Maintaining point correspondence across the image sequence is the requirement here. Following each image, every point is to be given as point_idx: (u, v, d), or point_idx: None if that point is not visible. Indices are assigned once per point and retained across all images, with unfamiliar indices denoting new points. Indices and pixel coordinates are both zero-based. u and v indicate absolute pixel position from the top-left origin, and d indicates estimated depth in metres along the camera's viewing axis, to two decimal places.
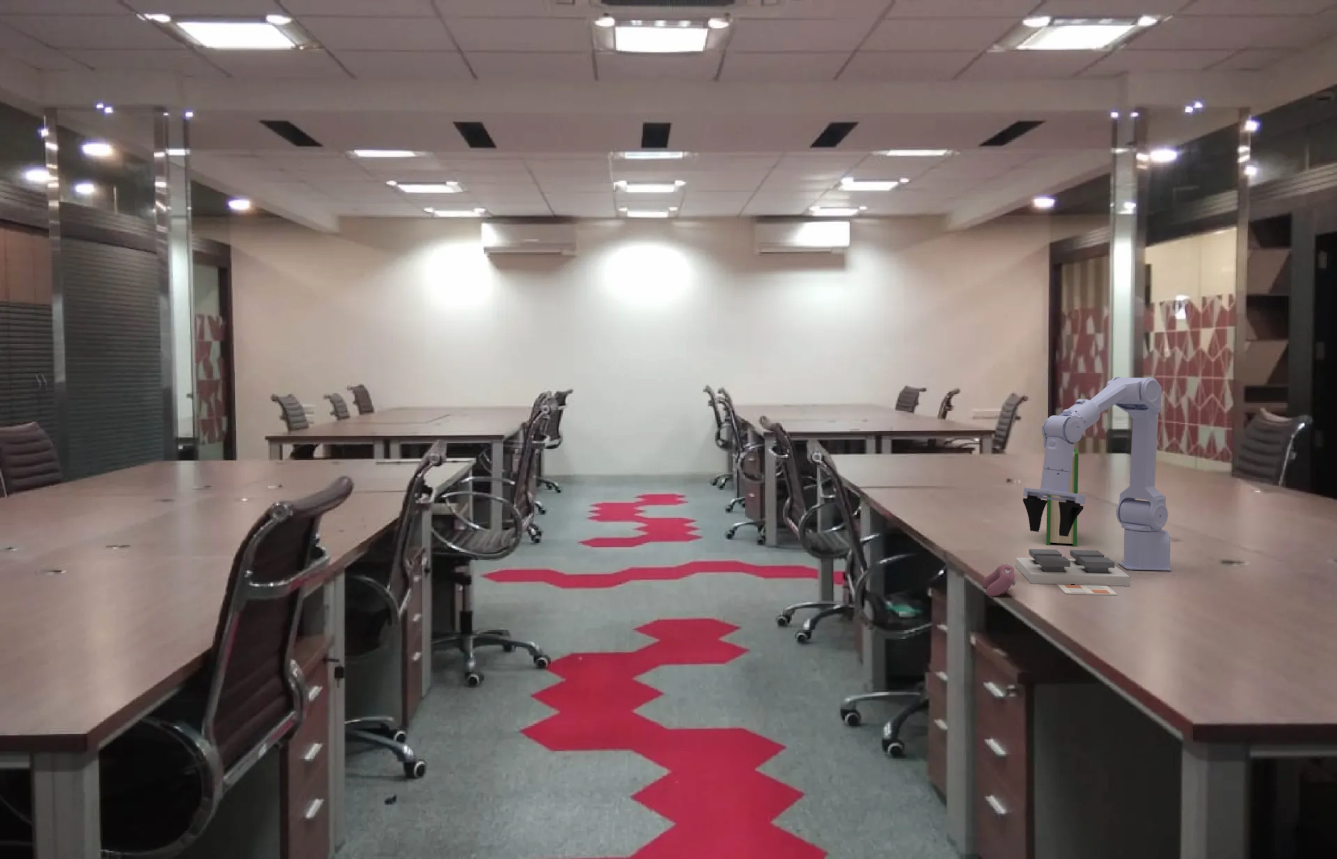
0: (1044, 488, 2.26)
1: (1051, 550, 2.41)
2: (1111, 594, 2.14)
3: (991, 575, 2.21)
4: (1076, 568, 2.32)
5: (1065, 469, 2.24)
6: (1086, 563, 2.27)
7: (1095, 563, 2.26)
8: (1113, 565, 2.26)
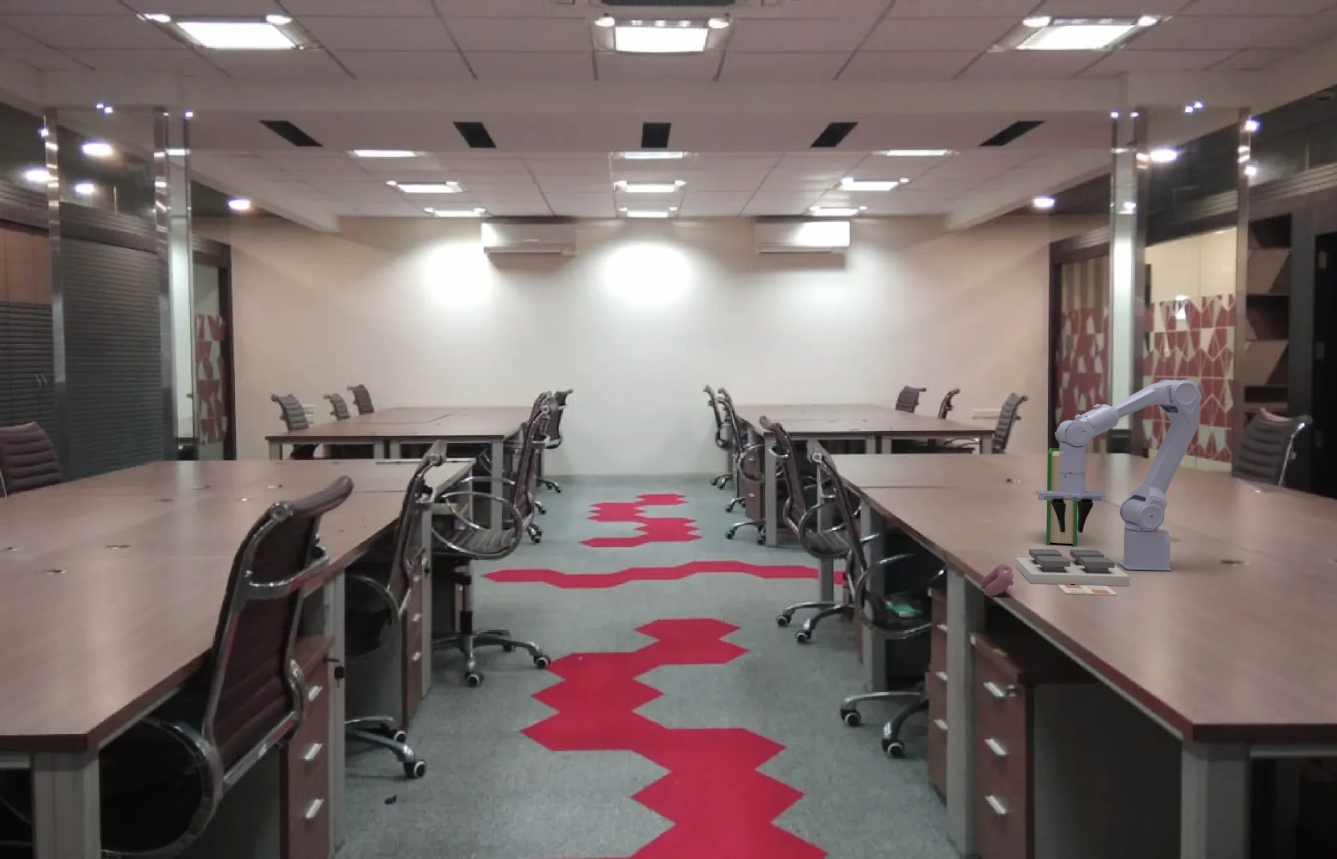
0: (1073, 492, 2.39)
1: (1051, 550, 2.41)
2: (1111, 594, 2.14)
3: (989, 575, 2.21)
4: (1076, 568, 2.32)
5: (1073, 472, 2.39)
6: (1086, 563, 2.27)
7: (1095, 563, 2.26)
8: (1113, 565, 2.26)
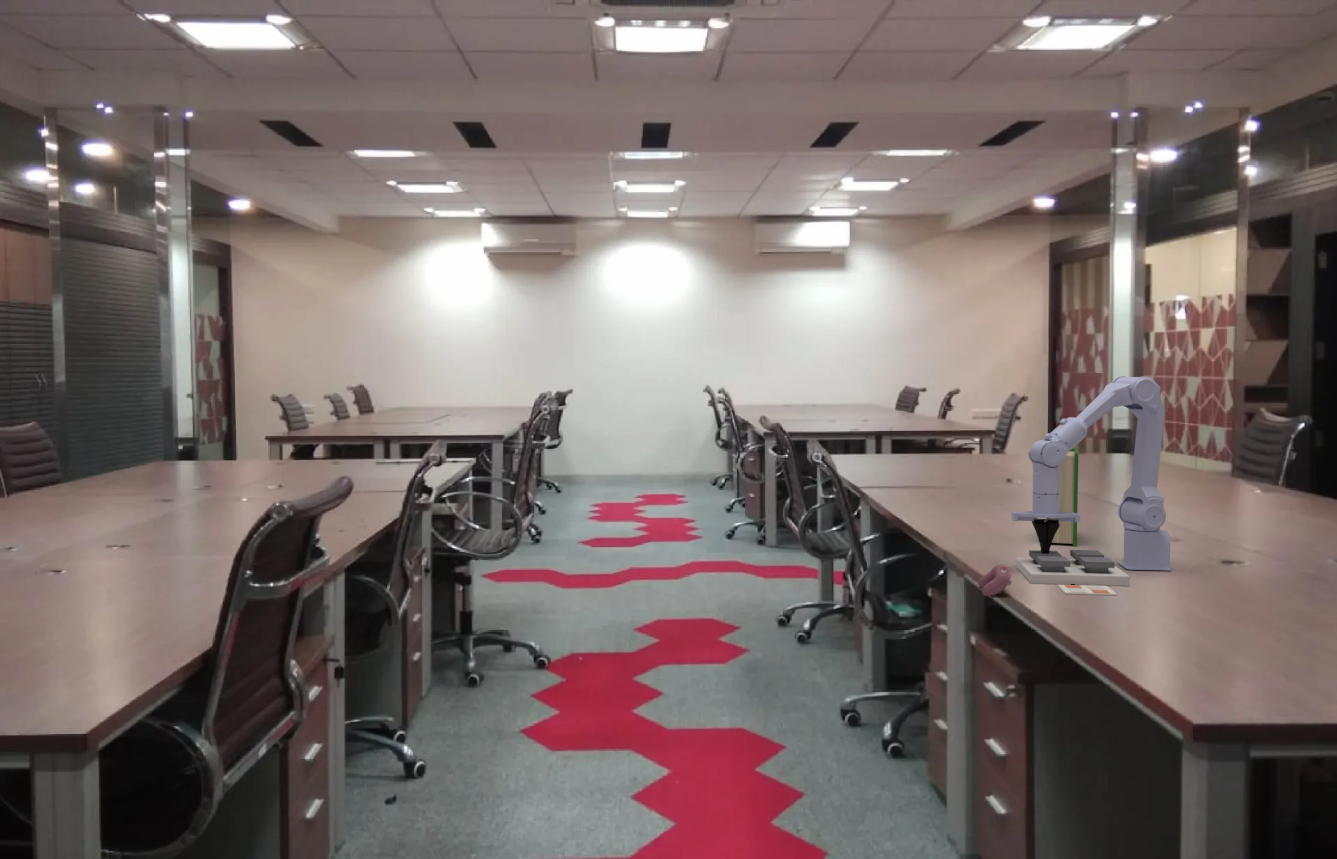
0: (1046, 513, 2.36)
1: (1051, 551, 2.41)
2: (1111, 594, 2.14)
3: (987, 575, 2.22)
4: (1076, 568, 2.32)
5: (1049, 492, 2.36)
6: (1086, 563, 2.27)
7: (1095, 563, 2.26)
8: (1113, 565, 2.26)
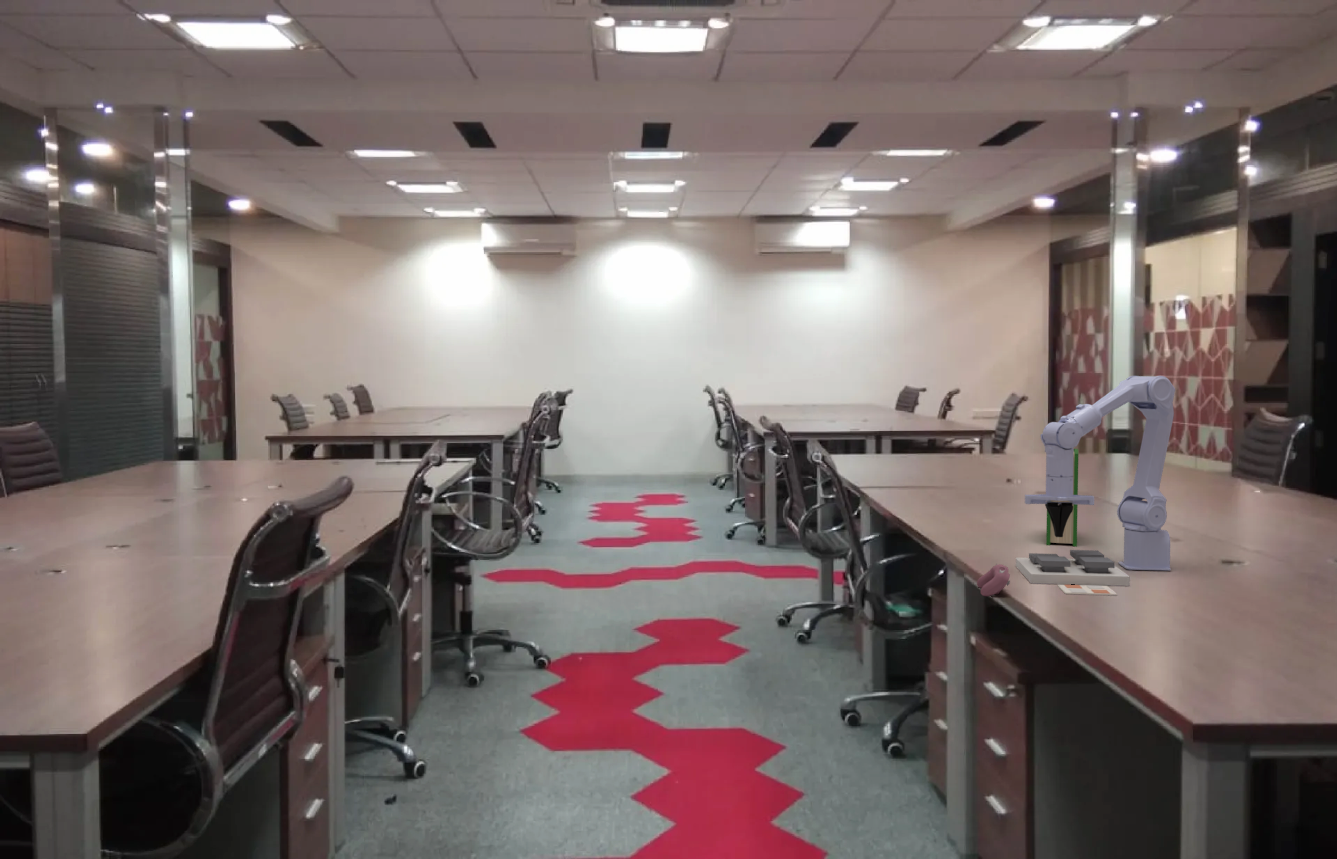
0: (1060, 495, 2.33)
1: (1051, 554, 2.41)
2: (1111, 594, 2.14)
3: (985, 575, 2.22)
4: (1076, 568, 2.32)
5: (1064, 475, 2.33)
6: (1086, 563, 2.27)
7: (1095, 563, 2.26)
8: (1113, 565, 2.26)
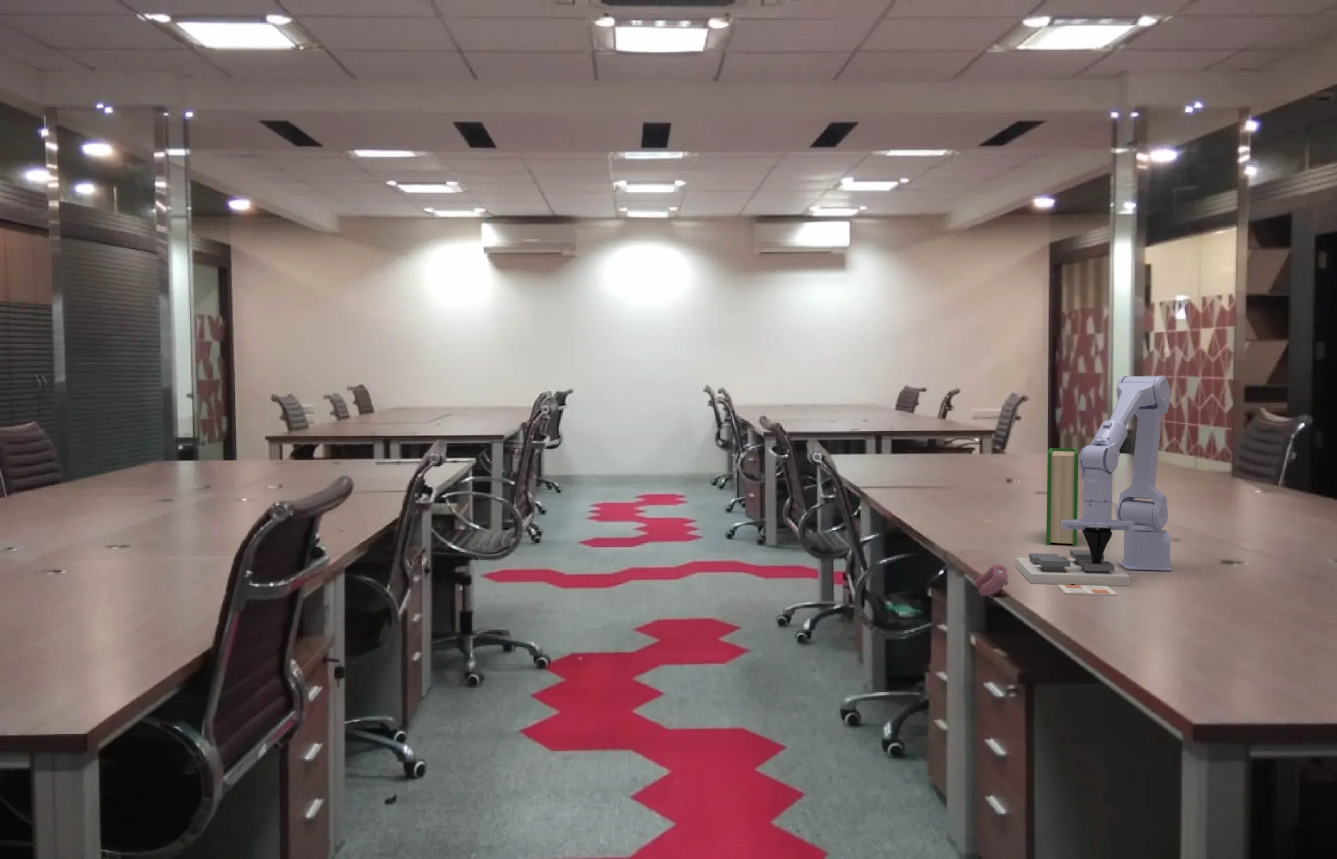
0: (1098, 521, 2.26)
1: (1051, 554, 2.41)
2: (1111, 594, 2.14)
3: (984, 575, 2.22)
4: (1076, 568, 2.32)
5: (1108, 500, 2.26)
6: (1086, 566, 2.27)
7: (1095, 566, 2.26)
8: (1113, 568, 2.26)
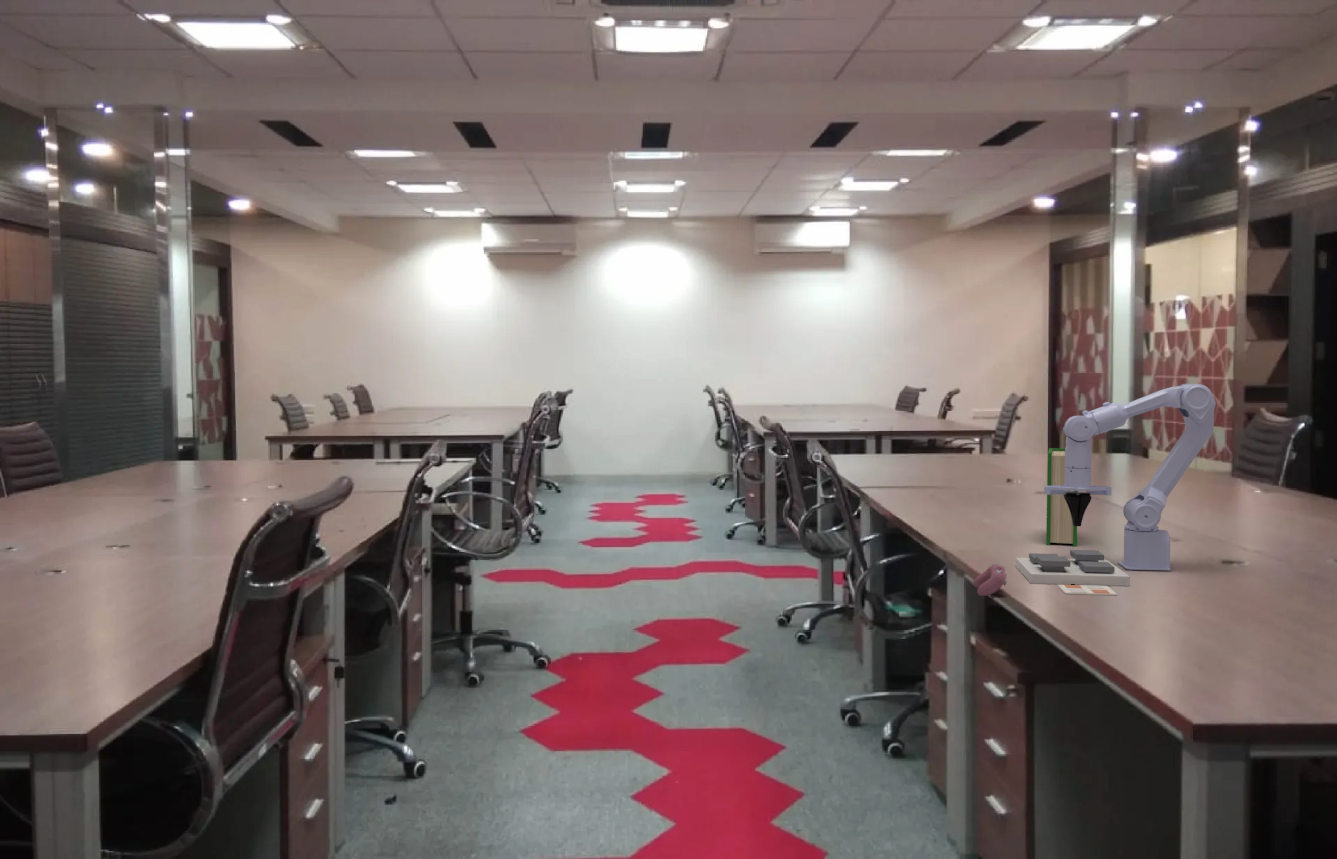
0: (1079, 486, 2.43)
1: (1051, 554, 2.41)
2: (1111, 594, 2.14)
3: (982, 575, 2.22)
4: (1076, 568, 2.32)
5: (1076, 466, 2.43)
6: (1086, 568, 2.27)
7: (1095, 568, 2.26)
8: (1113, 570, 2.26)
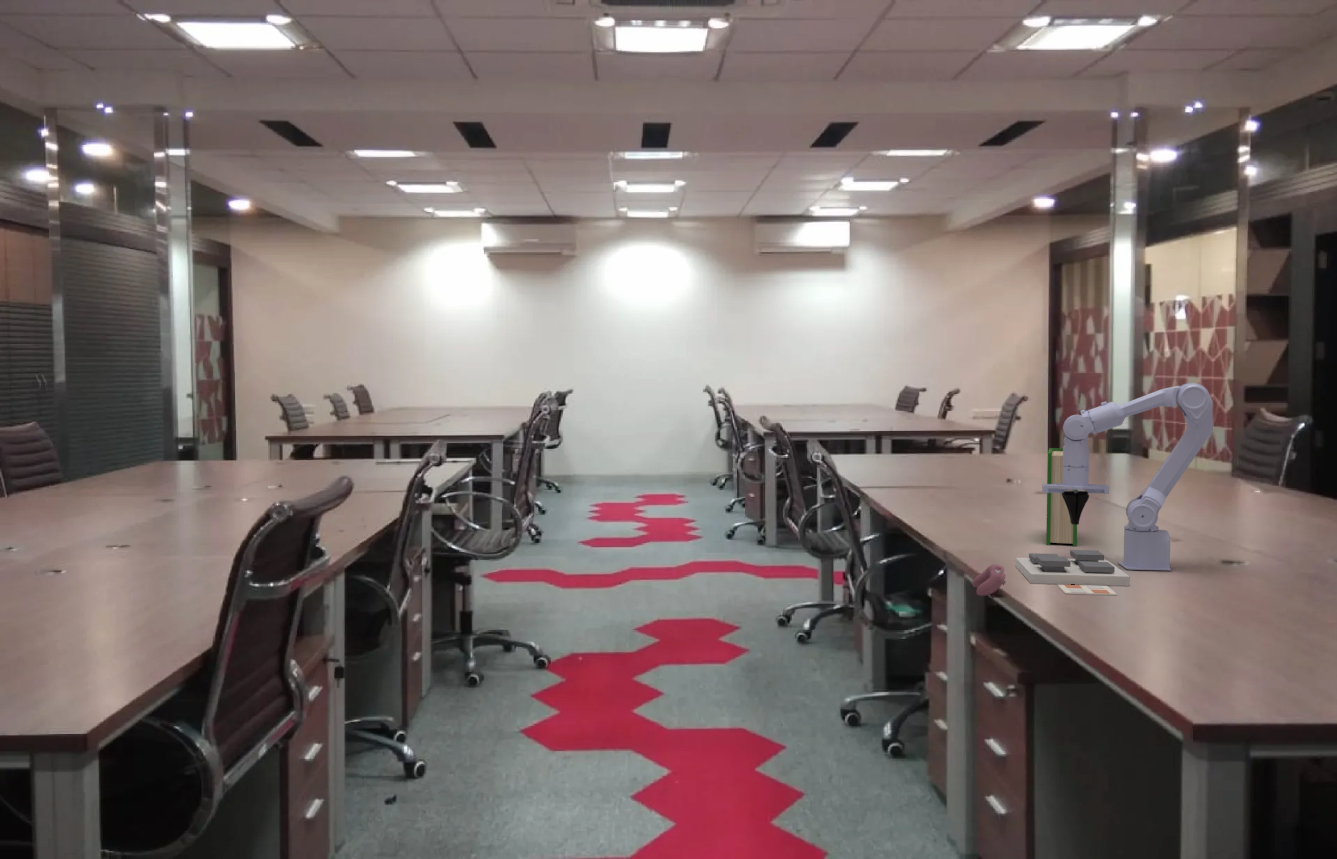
0: (1076, 485, 2.45)
1: (1051, 554, 2.41)
2: (1111, 594, 2.14)
3: (981, 575, 2.22)
4: (1076, 568, 2.32)
5: (1072, 465, 2.45)
6: (1086, 568, 2.27)
7: (1095, 568, 2.26)
8: (1113, 570, 2.26)
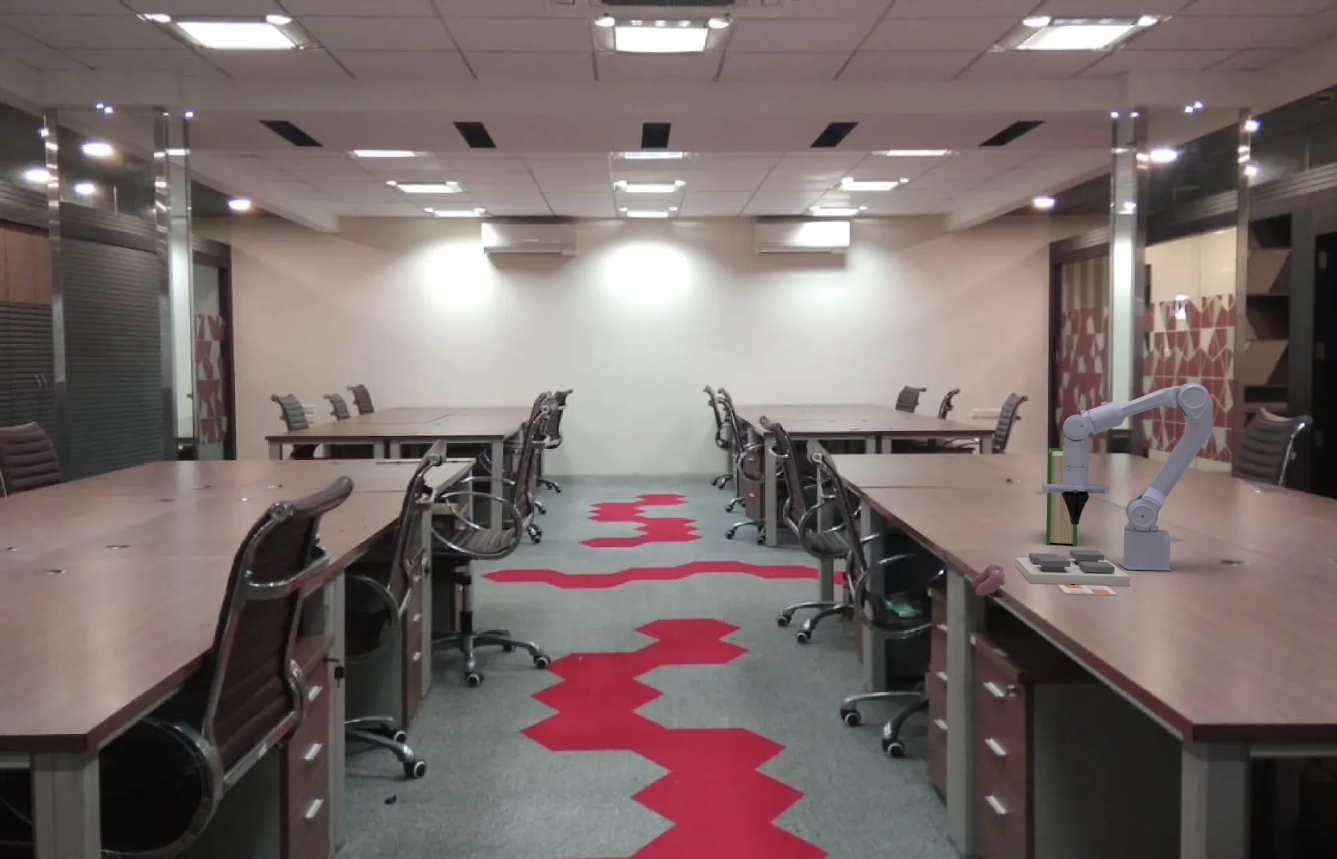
0: (1076, 485, 2.45)
1: (1051, 554, 2.41)
2: (1111, 594, 2.14)
3: (980, 575, 2.22)
4: (1076, 568, 2.32)
5: (1072, 465, 2.45)
6: (1086, 568, 2.27)
7: (1095, 568, 2.26)
8: (1113, 570, 2.26)
